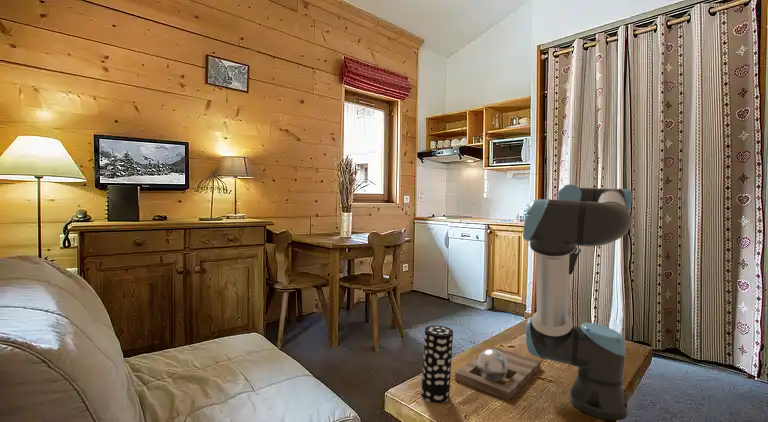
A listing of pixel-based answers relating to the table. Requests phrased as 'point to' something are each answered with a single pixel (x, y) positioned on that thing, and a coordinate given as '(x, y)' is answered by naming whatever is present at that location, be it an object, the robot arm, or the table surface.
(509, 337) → the table surface
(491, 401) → the table surface
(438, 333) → the white-spotted black cylinder
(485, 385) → the brown wooden frame
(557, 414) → the table surface
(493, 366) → the steel ball
